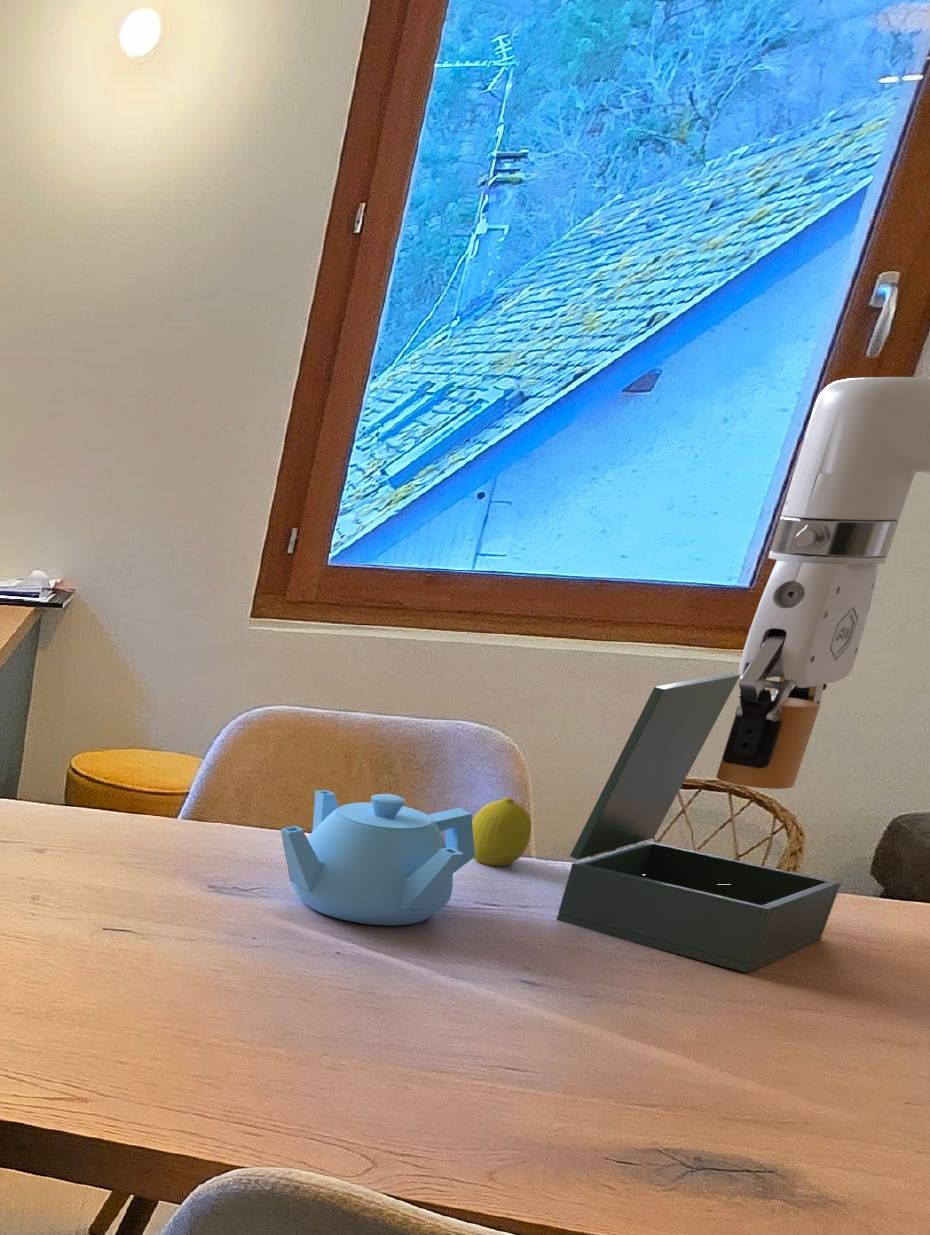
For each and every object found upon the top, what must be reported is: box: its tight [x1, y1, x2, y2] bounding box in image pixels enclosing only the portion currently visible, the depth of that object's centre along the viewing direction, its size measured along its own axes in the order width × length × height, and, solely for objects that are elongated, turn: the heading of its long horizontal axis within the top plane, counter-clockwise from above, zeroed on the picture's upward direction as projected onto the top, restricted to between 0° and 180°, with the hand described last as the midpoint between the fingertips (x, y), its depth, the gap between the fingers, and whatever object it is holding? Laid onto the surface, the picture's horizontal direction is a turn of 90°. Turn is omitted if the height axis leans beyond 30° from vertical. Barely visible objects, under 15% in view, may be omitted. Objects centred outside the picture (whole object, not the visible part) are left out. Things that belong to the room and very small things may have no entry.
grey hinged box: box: [556, 840, 842, 974], centre depth 130 cm, size 16×15×6 cm
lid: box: [569, 672, 741, 861], centre depth 131 cm, size 16×15×1 cm
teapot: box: [280, 789, 475, 926], centre depth 135 cm, size 15×15×11 cm
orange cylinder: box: [715, 695, 821, 790], centre depth 122 cm, size 5×5×7 cm
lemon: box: [472, 796, 532, 867], centre depth 147 cm, size 6×6×8 cm
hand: (761, 758), depth 122 cm, fingers closed on orange cylinder, 5 cm apart
